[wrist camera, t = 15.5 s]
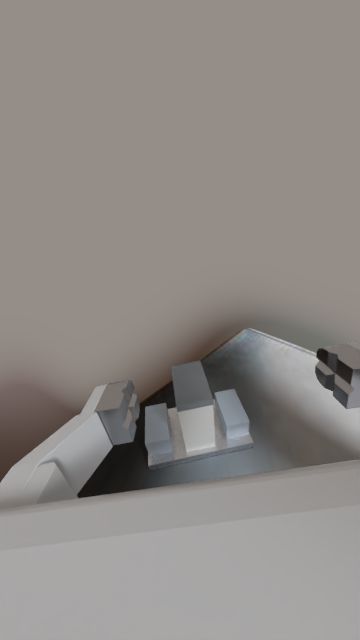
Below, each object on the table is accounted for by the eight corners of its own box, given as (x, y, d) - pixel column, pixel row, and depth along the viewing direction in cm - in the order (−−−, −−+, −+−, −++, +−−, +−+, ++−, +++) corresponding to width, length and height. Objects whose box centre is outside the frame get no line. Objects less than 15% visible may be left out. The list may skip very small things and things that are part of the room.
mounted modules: (233, 401, 35) (234, 388, 34) (248, 434, 30) (249, 421, 29) (149, 419, 35) (145, 406, 33) (149, 456, 29) (144, 444, 28)
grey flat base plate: (232, 400, 37) (232, 395, 37) (252, 447, 30) (253, 442, 29) (149, 417, 36) (148, 413, 36) (150, 470, 29) (148, 465, 28)
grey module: (204, 405, 36) (200, 360, 30) (215, 446, 29) (213, 399, 24) (179, 410, 35) (170, 366, 30) (186, 452, 29) (176, 407, 24)
